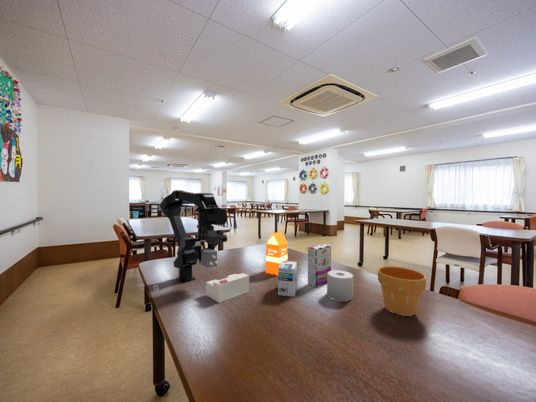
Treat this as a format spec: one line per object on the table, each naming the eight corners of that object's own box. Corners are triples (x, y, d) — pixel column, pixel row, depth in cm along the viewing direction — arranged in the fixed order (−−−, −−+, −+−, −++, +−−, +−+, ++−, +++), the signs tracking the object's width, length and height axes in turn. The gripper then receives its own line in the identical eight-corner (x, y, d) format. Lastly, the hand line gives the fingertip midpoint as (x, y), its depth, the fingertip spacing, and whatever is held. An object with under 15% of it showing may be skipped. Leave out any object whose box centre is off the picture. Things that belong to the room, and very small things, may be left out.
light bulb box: (294, 297, 89) (295, 269, 89) (277, 295, 90) (277, 267, 90) (297, 286, 99) (297, 261, 99) (281, 285, 101) (281, 260, 100)
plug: (198, 263, 98) (198, 249, 98) (207, 261, 100) (207, 247, 100) (209, 268, 91) (209, 253, 90) (218, 267, 93) (219, 252, 93)
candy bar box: (322, 278, 110) (322, 243, 109) (331, 281, 106) (331, 245, 106) (306, 284, 102) (307, 246, 102) (316, 287, 99) (316, 248, 98)
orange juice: (287, 270, 120) (288, 231, 119) (278, 275, 112) (279, 234, 112) (274, 268, 124) (274, 230, 123) (265, 272, 117) (265, 232, 116)
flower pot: (418, 304, 84) (419, 268, 84) (431, 325, 71) (432, 282, 70) (374, 298, 89) (375, 264, 88) (379, 316, 75) (380, 276, 75)
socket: (205, 295, 90) (206, 276, 89) (235, 285, 100) (235, 268, 99) (219, 302, 83) (219, 283, 83) (249, 291, 93) (249, 274, 93)
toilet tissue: (343, 287, 99) (343, 267, 99) (356, 301, 86) (356, 278, 86) (322, 287, 99) (322, 267, 99) (331, 301, 86) (332, 278, 85)
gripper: (191, 227, 85) (191, 269, 86) (234, 223, 98) (234, 260, 98) (179, 223, 94) (179, 262, 94) (220, 221, 106) (220, 255, 107)
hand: (204, 260), depth 98 cm, fingers closed on plug, 4 cm apart
